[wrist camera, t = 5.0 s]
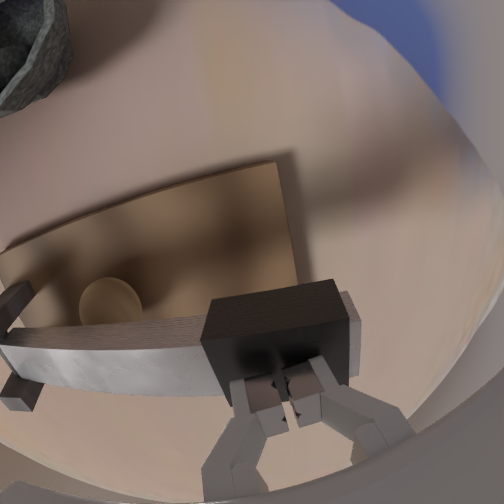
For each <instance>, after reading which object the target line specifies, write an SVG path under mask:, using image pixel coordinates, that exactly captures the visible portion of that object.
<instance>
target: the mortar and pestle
mask: <svg viewBox="0 0 504 504" xmlns="http://www.w3.org/2000/svg"><path fill="white" fill-rule="evenodd" d="M69 38H70V31H69V24H68V17H67V10H66V5H65V3H64V1H63V0H0V118H2V117H4V116H7V115H9V114H12V113H14V112H17V111H20V110H22V109H24V108H25V107H26V106H27V105H29V104H30V103H31V102H34V101H37V100H40V99H43V98H46V97H47V96H48V95H49V94H50V93H51V92H52V91H53V90H54V88H55V87H56V86H57V85H58V84H59V83H60V82H61V81H62V80H63V79H64V77H65V74H66V72H67V69H68V67H69V64H70V62H71V59H72V57H73V55H72V50H71V45H70V39H69Z"/></svg>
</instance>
